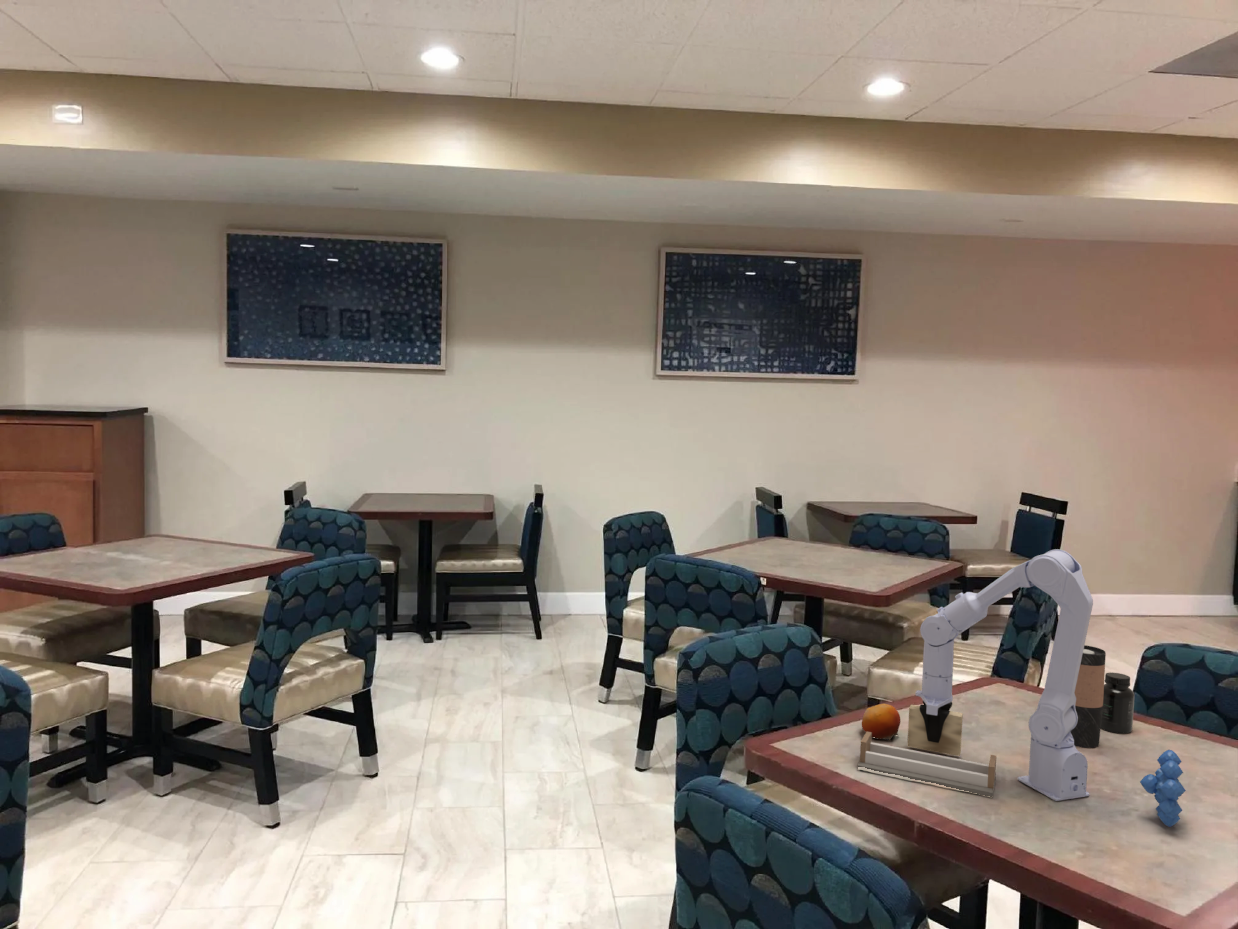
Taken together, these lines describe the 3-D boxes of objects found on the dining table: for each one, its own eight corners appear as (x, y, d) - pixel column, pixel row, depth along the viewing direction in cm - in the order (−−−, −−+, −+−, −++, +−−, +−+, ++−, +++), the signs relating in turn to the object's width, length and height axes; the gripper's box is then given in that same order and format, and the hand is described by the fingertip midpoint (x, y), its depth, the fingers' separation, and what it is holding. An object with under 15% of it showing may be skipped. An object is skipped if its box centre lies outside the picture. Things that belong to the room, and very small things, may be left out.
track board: (995, 777, 166) (997, 752, 166) (992, 798, 157) (993, 771, 157) (867, 752, 177) (868, 728, 177) (857, 770, 168) (858, 745, 168)
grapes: (1135, 801, 158) (1139, 736, 157) (1179, 810, 154) (1184, 744, 154) (1139, 828, 147) (1144, 759, 146) (1187, 838, 144) (1192, 768, 143)
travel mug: (1107, 749, 182) (1113, 655, 180) (1070, 748, 182) (1076, 654, 180) (1088, 735, 189) (1094, 644, 188) (1053, 734, 189) (1058, 643, 188)
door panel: (960, 751, 176) (962, 713, 175) (959, 756, 174) (961, 717, 173) (909, 742, 180) (911, 704, 180) (907, 746, 178) (909, 708, 178)
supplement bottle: (1119, 723, 197) (1123, 671, 196) (1138, 734, 191) (1142, 680, 190) (1090, 722, 197) (1093, 670, 196) (1108, 734, 190) (1111, 680, 189)
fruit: (901, 741, 179) (883, 704, 181) (868, 752, 184) (851, 716, 186) (914, 730, 186) (896, 695, 188) (882, 741, 190) (865, 706, 192)
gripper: (921, 661, 184) (918, 723, 185) (911, 680, 171) (908, 747, 172) (957, 666, 181) (954, 730, 182) (949, 685, 168) (946, 754, 169)
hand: (934, 739), depth 177 cm, fingers closed on door panel, 2 cm apart
